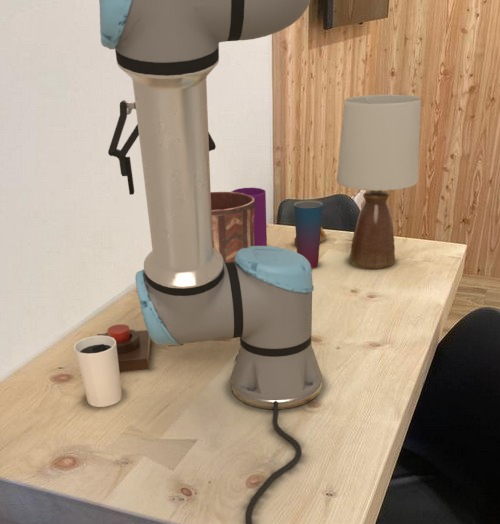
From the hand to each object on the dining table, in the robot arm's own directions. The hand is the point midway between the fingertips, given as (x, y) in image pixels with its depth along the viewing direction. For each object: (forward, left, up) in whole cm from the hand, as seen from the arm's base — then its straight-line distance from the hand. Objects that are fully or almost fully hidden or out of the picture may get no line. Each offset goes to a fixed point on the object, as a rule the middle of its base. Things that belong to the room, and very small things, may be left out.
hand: (166, 191), depth 125 cm
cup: (+21, -32, -25) cm, 46 cm away
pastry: (+39, -36, -25) cm, 59 cm away
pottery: (+18, -10, -25) cm, 33 cm away
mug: (+34, -18, -25) cm, 46 cm away
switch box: (-21, +11, -25) cm, 34 cm away
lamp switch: (-21, +11, -21) cm, 32 cm away
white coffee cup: (-36, +13, -25) cm, 45 cm away
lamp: (+20, -48, -25) cm, 58 cm away
